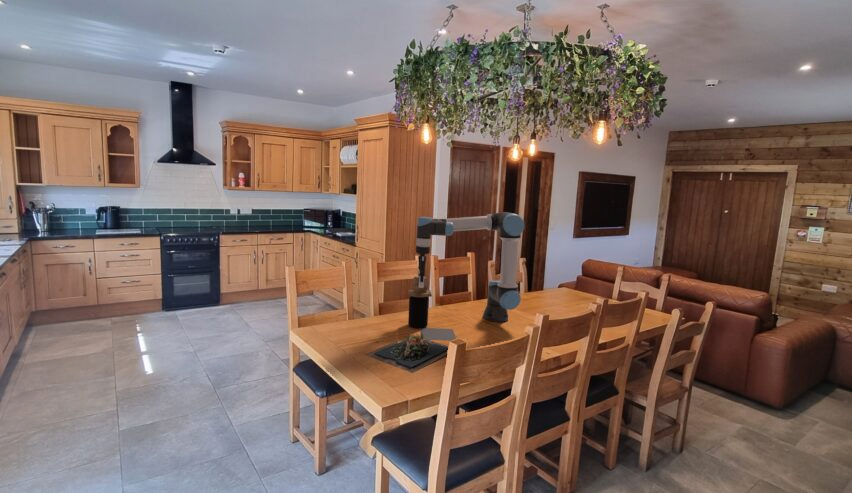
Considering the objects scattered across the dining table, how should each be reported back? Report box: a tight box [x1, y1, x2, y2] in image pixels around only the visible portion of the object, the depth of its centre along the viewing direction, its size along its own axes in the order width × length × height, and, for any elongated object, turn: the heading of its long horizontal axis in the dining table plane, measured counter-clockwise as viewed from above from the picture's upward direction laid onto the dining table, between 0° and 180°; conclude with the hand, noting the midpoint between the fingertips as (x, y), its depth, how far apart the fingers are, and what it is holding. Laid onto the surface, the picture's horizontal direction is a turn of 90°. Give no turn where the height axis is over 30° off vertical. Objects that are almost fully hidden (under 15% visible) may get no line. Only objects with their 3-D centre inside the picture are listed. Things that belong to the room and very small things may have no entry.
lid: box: [408, 276, 433, 298], centre depth 240 cm, size 12×12×9 cm
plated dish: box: [365, 330, 448, 374], centre depth 206 cm, size 35×28×7 cm
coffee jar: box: [408, 296, 430, 329], centre depth 242 cm, size 11×11×18 cm
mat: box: [419, 327, 457, 342], centre depth 232 cm, size 18×18×1 cm
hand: (420, 284), depth 240 cm, fingers open, 13 cm apart
